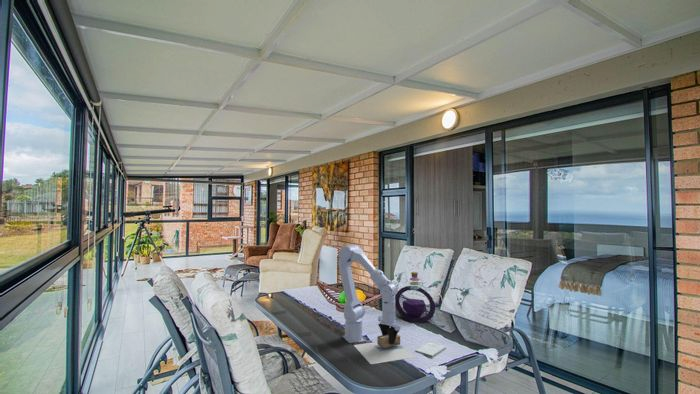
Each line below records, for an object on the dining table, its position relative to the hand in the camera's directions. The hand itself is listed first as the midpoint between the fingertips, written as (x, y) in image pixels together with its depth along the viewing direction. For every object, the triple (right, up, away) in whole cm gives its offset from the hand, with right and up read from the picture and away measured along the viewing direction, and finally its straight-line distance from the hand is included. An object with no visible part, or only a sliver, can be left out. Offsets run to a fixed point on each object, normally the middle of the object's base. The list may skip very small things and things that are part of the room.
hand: (388, 341), depth 159 cm
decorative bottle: (+19, -4, +43) cm, 47 cm away
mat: (-3, -3, -4) cm, 6 cm away
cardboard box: (0, -1, 0) cm, 1 cm away
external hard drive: (+18, -4, -3) cm, 18 cm away
